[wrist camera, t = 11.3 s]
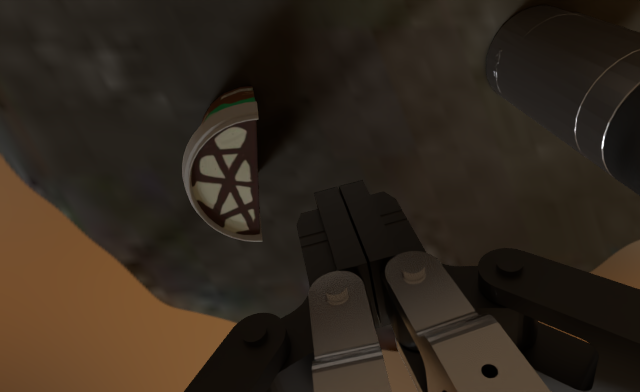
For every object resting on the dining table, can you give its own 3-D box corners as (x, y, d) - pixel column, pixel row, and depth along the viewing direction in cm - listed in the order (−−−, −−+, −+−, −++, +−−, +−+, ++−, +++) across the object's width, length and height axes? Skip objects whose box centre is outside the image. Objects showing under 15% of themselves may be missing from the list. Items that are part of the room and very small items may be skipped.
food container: (181, 70, 42) (170, 113, 33) (251, 69, 43) (258, 111, 34) (195, 190, 48) (189, 252, 40) (256, 187, 49) (262, 246, 41)
